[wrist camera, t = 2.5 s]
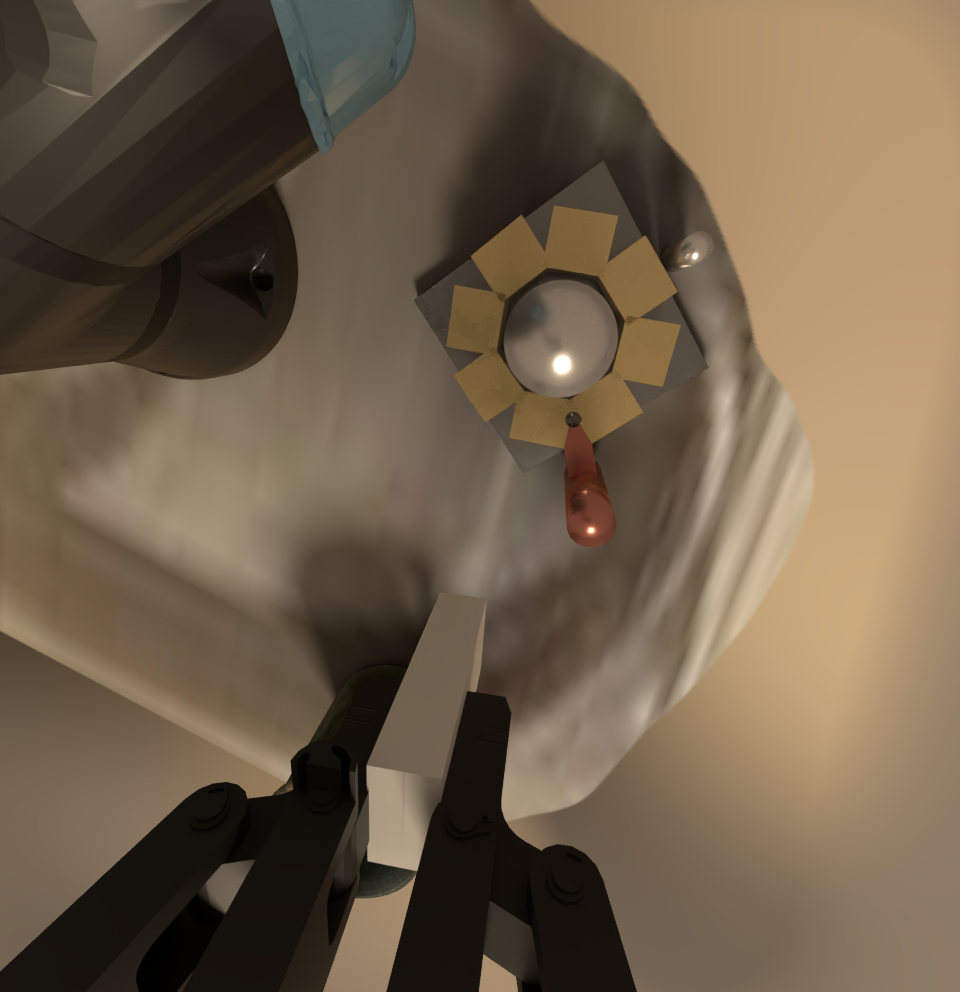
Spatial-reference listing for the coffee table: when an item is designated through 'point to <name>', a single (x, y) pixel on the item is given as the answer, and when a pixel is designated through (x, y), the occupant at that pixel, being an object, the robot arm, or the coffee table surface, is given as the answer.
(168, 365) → the robot arm
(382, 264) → the coffee table surface
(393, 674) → the mug
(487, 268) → the toothed crank wheel
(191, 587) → the coffee table surface
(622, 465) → the coffee table surface
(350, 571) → the coffee table surface
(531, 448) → the spindle base
